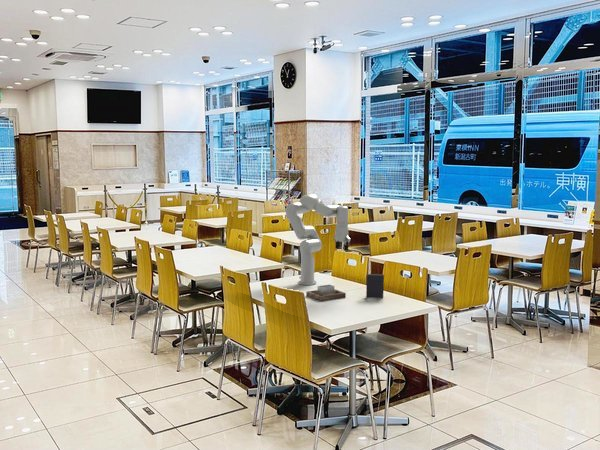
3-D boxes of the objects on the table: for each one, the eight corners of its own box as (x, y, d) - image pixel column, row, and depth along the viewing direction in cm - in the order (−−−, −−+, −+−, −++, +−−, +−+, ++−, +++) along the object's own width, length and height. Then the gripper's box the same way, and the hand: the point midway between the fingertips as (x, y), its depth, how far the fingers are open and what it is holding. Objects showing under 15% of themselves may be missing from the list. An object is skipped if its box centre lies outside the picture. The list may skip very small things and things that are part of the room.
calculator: (383, 296, 381) (383, 274, 379) (383, 298, 377) (383, 275, 375) (366, 296, 382) (366, 273, 380) (366, 297, 378) (366, 275, 376)
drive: (317, 295, 379) (317, 286, 378) (329, 293, 384) (329, 284, 383) (321, 296, 375) (321, 287, 374) (334, 294, 380) (334, 285, 379)
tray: (306, 296, 381) (306, 290, 380) (331, 292, 391) (331, 286, 391) (320, 301, 367) (320, 295, 367) (345, 297, 378) (345, 291, 378)
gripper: (330, 223, 397) (329, 248, 399) (345, 226, 382) (345, 251, 384) (339, 222, 401) (338, 247, 403) (354, 225, 386) (354, 250, 388)
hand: (341, 249), depth 394 cm, fingers open, 9 cm apart
